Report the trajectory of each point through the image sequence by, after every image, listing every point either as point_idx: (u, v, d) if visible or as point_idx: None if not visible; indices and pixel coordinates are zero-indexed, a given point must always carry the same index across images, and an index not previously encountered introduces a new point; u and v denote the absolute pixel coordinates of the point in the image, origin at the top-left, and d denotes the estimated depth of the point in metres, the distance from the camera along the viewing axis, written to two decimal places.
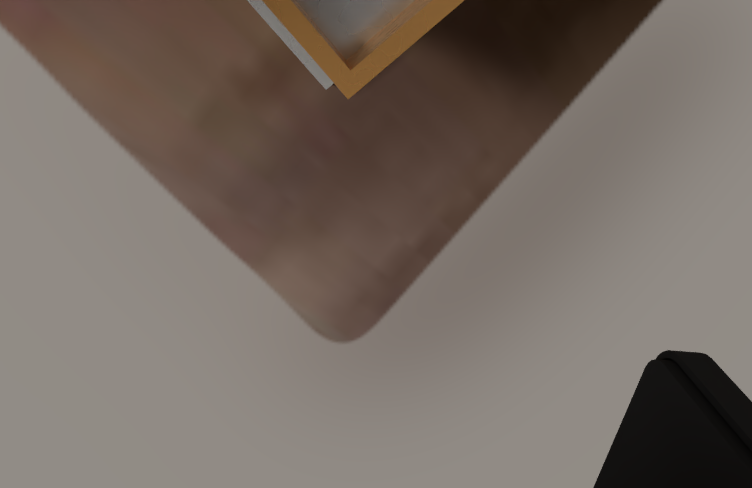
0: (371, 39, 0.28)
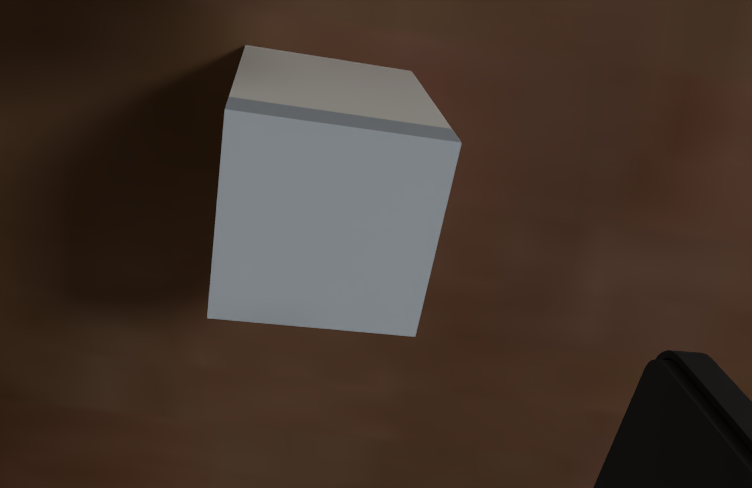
0: None
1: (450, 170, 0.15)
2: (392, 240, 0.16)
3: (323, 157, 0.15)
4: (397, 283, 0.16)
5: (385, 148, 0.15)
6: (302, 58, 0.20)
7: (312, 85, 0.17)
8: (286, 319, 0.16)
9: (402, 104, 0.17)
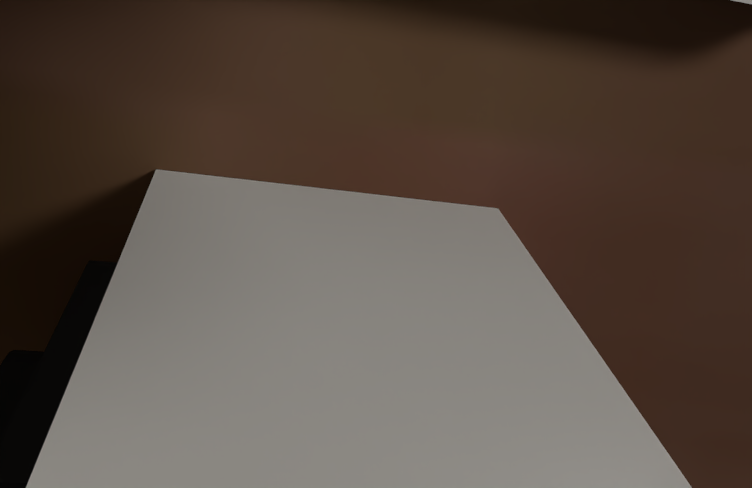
0: None
1: None
2: None
3: None
4: None
5: None
6: (277, 203, 0.09)
7: (301, 339, 0.07)
8: None
9: (541, 394, 0.06)
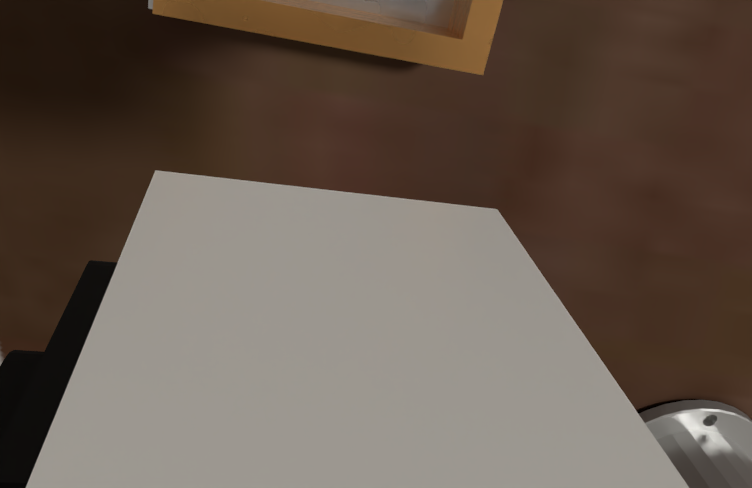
0: None
1: None
2: None
3: None
4: None
5: None
6: (276, 204, 0.09)
7: (300, 340, 0.07)
8: None
9: (539, 395, 0.06)
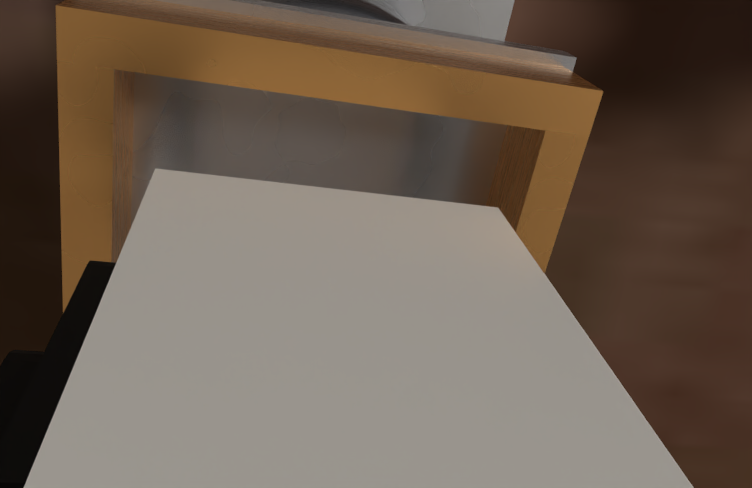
0: (131, 121, 0.12)
1: None
2: None
3: None
4: None
5: None
6: (277, 202, 0.09)
7: (301, 338, 0.07)
8: None
9: (541, 393, 0.06)
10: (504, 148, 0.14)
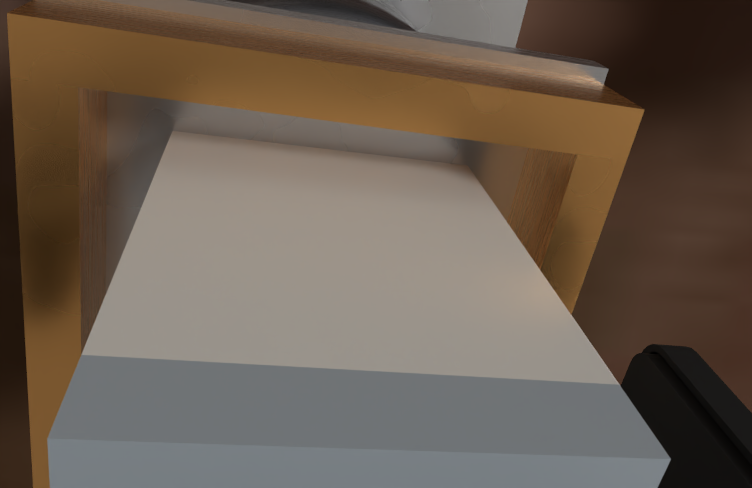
0: (104, 142, 0.11)
1: None
2: None
3: None
4: None
5: (485, 486, 0.06)
6: (276, 157, 0.11)
7: (295, 251, 0.08)
8: None
9: (486, 293, 0.08)
10: (525, 169, 0.12)
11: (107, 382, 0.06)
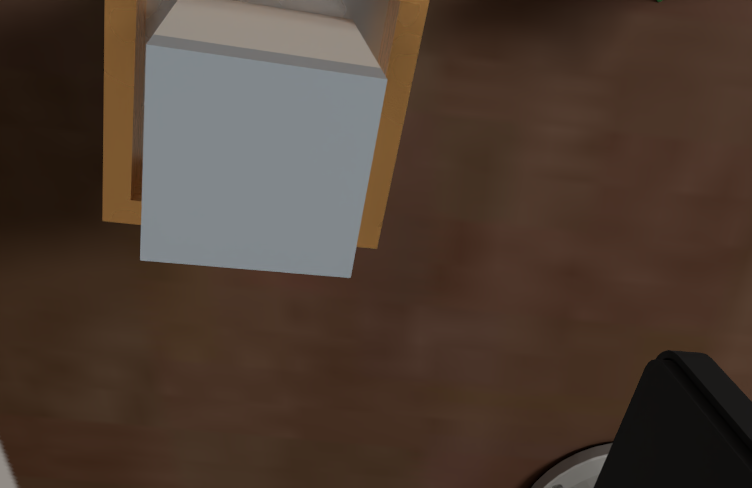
0: None
1: (377, 107, 0.15)
2: (323, 180, 0.16)
3: (249, 94, 0.15)
4: (330, 223, 0.16)
5: (311, 85, 0.15)
6: (240, 5, 0.20)
7: (244, 28, 0.17)
8: (220, 261, 0.16)
9: (334, 46, 0.17)
10: (386, 23, 0.21)
11: (164, 39, 0.14)
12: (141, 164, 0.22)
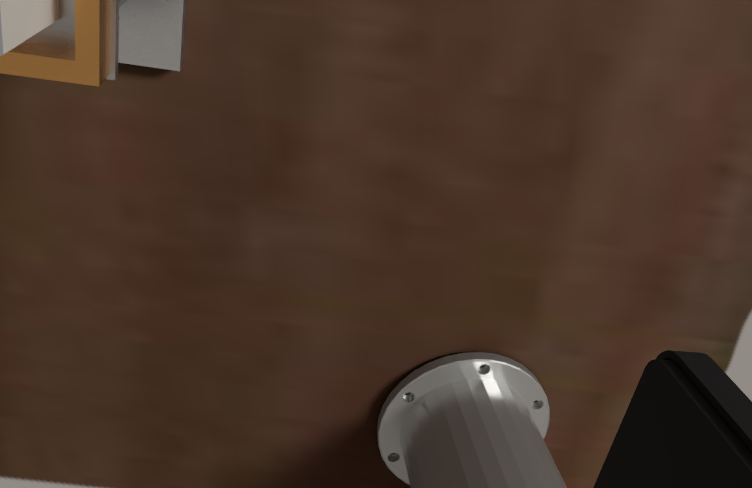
0: None
1: None
2: None
3: None
4: None
5: None
6: None
7: None
8: None
9: None
10: None
11: None
12: None
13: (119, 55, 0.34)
